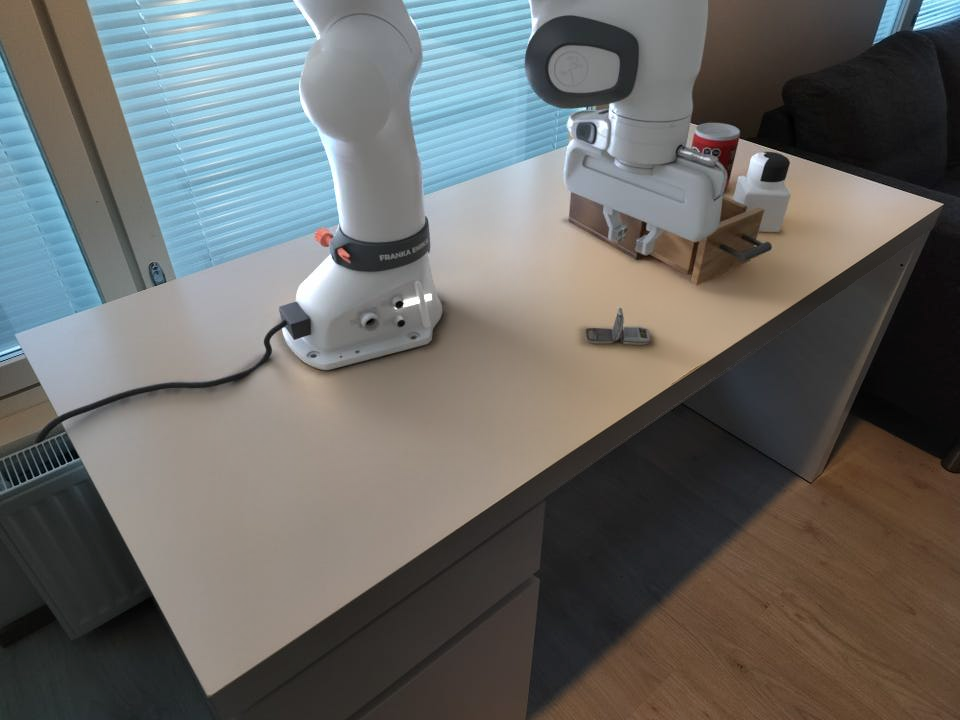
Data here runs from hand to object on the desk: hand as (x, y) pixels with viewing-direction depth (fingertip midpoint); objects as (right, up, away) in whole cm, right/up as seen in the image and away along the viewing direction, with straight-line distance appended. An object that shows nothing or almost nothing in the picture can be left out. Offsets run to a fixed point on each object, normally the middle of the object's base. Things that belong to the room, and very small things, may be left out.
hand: (630, 246), depth 84 cm
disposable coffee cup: (+3, +21, +50) cm, 55 cm away
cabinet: (+7, +9, +34) cm, 35 cm away
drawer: (+16, +2, +24) cm, 28 cm away
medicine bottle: (+29, +10, +35) cm, 47 cm away
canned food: (+25, +19, +47) cm, 56 cm away
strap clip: (0, -11, +9) cm, 14 cm away
